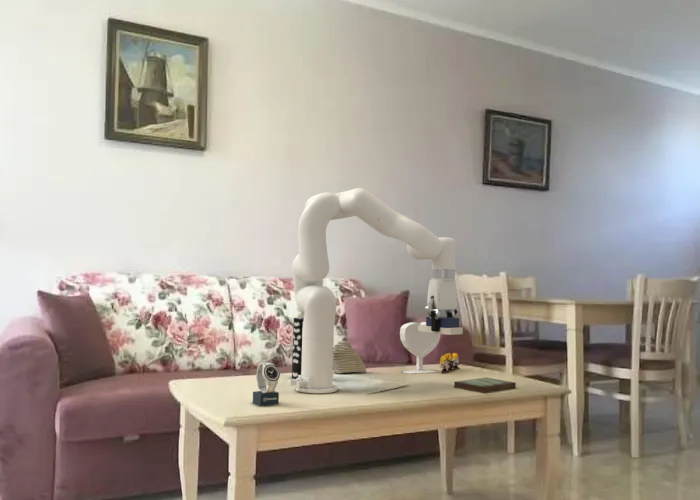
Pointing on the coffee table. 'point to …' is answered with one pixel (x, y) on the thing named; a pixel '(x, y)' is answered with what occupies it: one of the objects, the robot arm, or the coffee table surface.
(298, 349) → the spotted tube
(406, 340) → the heart sculpture
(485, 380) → the green brown rectangular slab
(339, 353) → the fossil tooth
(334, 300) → the robot arm
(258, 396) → the watch
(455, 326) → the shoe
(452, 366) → the figurine set
